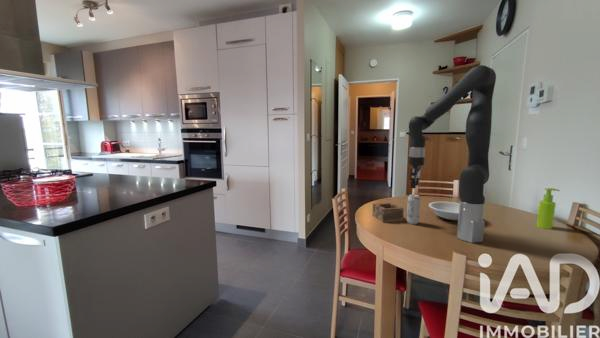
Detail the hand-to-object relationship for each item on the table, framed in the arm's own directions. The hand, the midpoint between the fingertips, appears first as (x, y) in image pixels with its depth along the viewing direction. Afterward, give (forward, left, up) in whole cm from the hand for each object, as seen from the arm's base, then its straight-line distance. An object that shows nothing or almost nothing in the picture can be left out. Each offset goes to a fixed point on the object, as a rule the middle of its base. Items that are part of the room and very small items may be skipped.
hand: (414, 186), depth 139 cm
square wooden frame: (+10, +9, -20) cm, 24 cm away
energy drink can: (0, 0, -20) cm, 20 cm away
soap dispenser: (-20, -62, -20) cm, 68 cm away
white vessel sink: (+2, -26, -20) cm, 33 cm away
